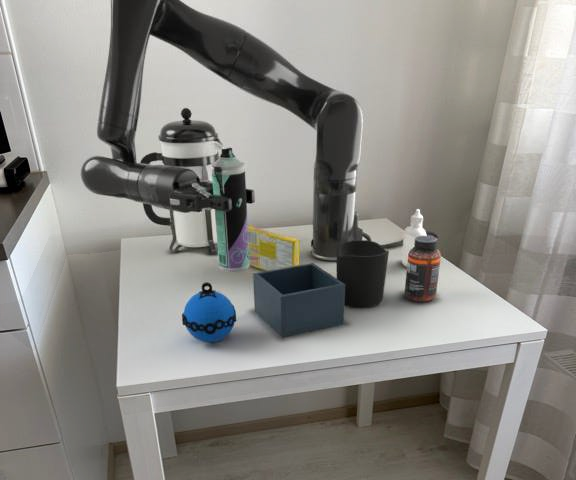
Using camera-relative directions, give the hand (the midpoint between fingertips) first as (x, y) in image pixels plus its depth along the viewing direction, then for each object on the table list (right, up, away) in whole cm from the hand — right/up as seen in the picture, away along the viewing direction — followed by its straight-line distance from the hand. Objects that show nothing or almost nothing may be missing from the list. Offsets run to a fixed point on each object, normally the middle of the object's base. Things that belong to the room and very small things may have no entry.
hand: (241, 200), depth 93 cm
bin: (+10, -19, +7) cm, 22 cm away
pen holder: (+21, -15, +13) cm, 29 cm away
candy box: (+4, -6, +27) cm, 28 cm away
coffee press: (-15, +2, +41) cm, 44 cm away
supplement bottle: (+33, -14, +14) cm, 38 cm away
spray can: (-2, -10, +8) cm, 12 cm away
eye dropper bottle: (+35, -5, +29) cm, 45 cm away
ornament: (-5, -23, 0) cm, 24 cm away
